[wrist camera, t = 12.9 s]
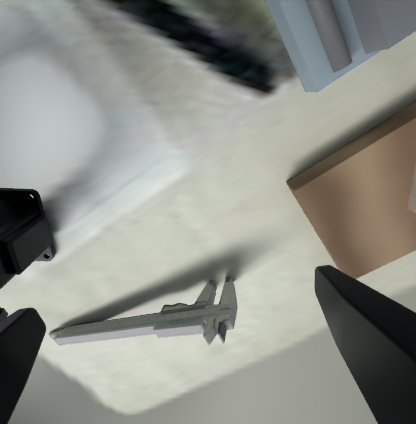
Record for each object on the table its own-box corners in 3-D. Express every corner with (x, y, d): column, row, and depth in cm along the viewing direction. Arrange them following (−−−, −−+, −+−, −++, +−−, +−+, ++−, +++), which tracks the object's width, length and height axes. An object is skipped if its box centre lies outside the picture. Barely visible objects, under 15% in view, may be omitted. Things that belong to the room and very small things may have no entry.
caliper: (230, 272, 24) (237, 329, 18) (234, 280, 24) (242, 338, 18) (50, 330, 27) (8, 394, 21) (56, 337, 27) (17, 401, 21)
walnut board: (337, 267, 23) (348, 282, 21) (286, 182, 19) (294, 191, 18) (507, 182, 19) (537, 191, 18) (482, 60, 16) (516, 56, 14)
